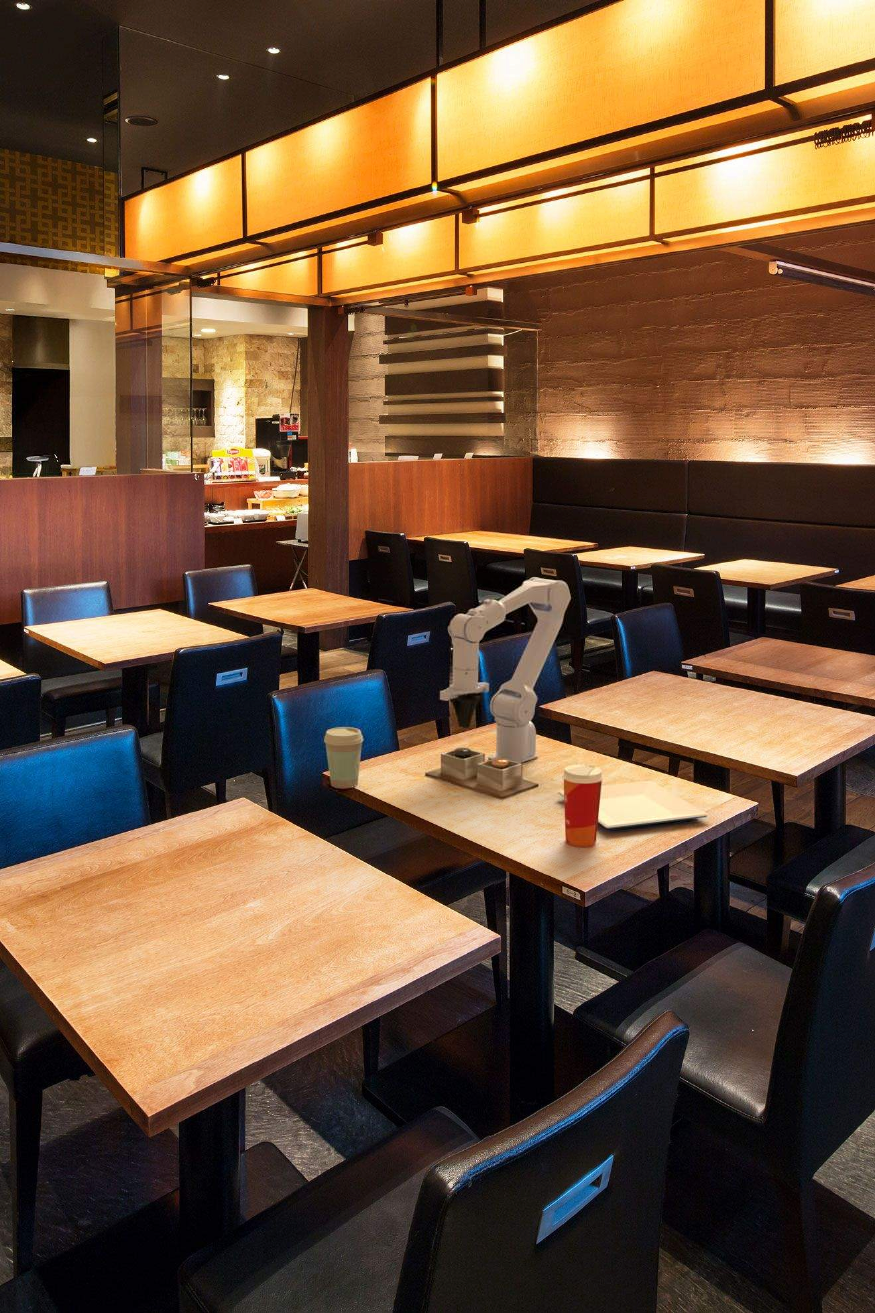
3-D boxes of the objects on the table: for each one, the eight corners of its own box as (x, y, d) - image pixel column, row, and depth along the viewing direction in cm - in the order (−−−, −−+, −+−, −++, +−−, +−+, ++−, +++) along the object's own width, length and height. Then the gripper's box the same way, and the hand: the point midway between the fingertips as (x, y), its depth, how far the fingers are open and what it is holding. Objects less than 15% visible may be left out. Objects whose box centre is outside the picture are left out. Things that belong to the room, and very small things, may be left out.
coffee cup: (362, 791, 218) (361, 737, 215) (322, 790, 218) (321, 736, 216) (365, 778, 226) (364, 726, 224) (327, 778, 226) (326, 726, 224)
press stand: (461, 763, 237) (461, 743, 236) (538, 785, 221) (538, 763, 220) (425, 775, 229) (425, 753, 228) (502, 799, 213) (502, 776, 212)
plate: (606, 837, 192) (606, 826, 192) (556, 799, 213) (557, 790, 213) (708, 824, 199) (709, 814, 199) (650, 788, 220) (651, 779, 220)
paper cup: (574, 831, 195) (576, 761, 192) (609, 840, 190) (611, 769, 187) (551, 843, 189) (553, 770, 186) (587, 853, 184) (589, 779, 181)
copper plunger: (498, 778, 224) (498, 755, 223) (515, 783, 221) (515, 760, 220) (484, 783, 221) (484, 760, 220) (500, 788, 218) (501, 765, 217)
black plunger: (462, 767, 232) (462, 745, 231) (477, 772, 229) (477, 750, 228) (447, 772, 228) (447, 750, 227) (463, 777, 225) (463, 754, 224)
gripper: (473, 661, 235) (471, 718, 238) (430, 669, 225) (429, 728, 227) (496, 665, 230) (494, 723, 233) (454, 674, 220) (452, 734, 222)
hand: (464, 726), depth 230 cm, fingers closed
